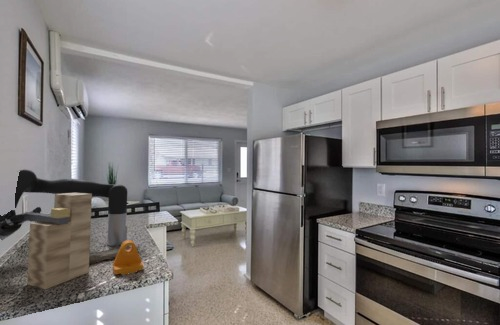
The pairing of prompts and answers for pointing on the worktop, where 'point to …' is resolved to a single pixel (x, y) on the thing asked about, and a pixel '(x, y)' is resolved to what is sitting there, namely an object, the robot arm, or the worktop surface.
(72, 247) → the block
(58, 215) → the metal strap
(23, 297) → the worktop surface
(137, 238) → the worktop surface
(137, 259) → the bracket
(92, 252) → the long grey stone
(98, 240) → the worktop surface
